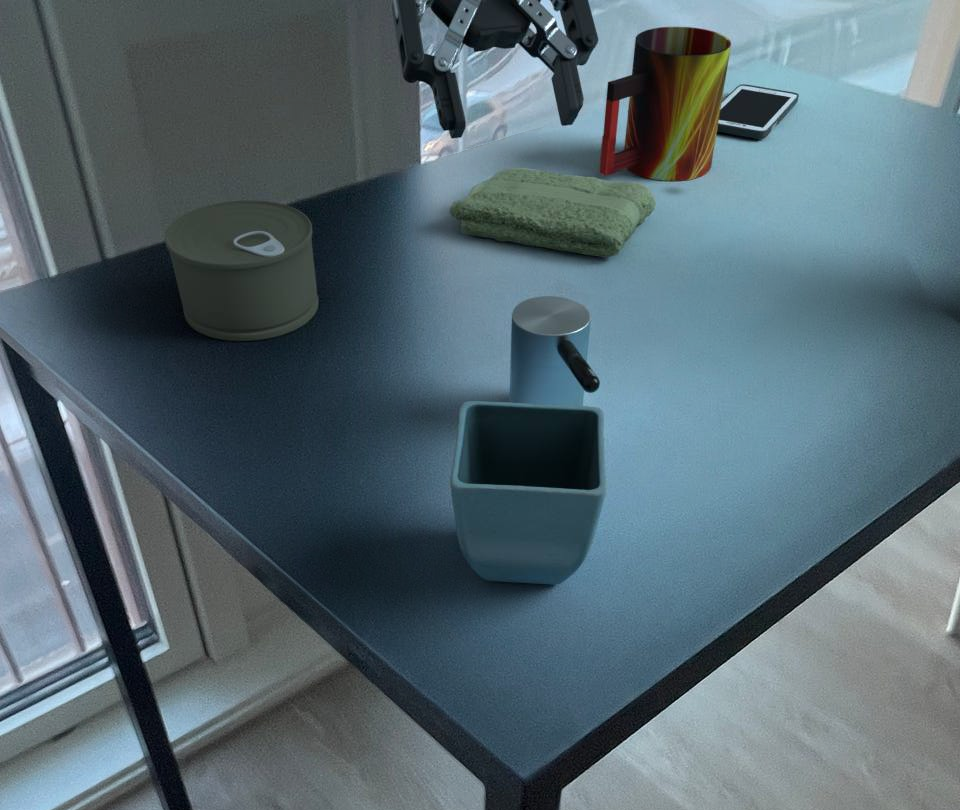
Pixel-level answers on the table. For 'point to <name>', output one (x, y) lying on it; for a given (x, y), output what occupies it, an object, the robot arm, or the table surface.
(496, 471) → the flower pot
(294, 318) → the can
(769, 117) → the cell phone
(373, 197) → the table surface
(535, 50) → the robot arm
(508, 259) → the table surface
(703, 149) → the mug
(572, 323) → the metal cylinder with handle
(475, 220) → the washcloth
